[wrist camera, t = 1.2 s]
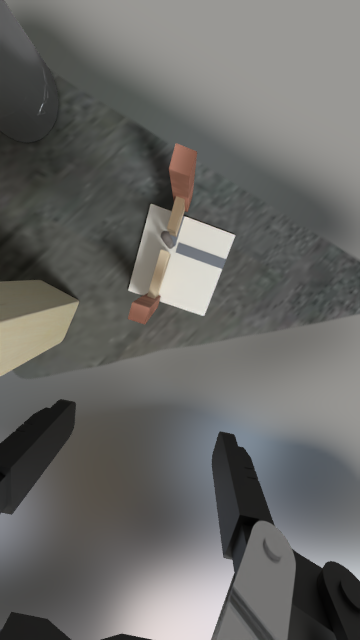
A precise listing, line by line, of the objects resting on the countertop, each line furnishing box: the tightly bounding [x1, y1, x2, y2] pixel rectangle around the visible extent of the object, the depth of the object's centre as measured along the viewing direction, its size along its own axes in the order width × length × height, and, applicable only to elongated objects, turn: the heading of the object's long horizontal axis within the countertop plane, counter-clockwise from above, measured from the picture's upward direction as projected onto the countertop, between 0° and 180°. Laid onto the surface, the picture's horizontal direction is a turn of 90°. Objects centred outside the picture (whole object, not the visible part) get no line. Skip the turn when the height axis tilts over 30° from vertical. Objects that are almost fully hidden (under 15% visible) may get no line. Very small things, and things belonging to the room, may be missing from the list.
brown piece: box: [161, 144, 197, 249], centre depth 20 cm, size 2×7×10 cm, turn 161°
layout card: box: [128, 204, 235, 316], centre depth 26 cm, size 12×12×1 cm
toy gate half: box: [128, 249, 171, 324], centre depth 22 cm, size 8×2×9 cm, turn 161°
